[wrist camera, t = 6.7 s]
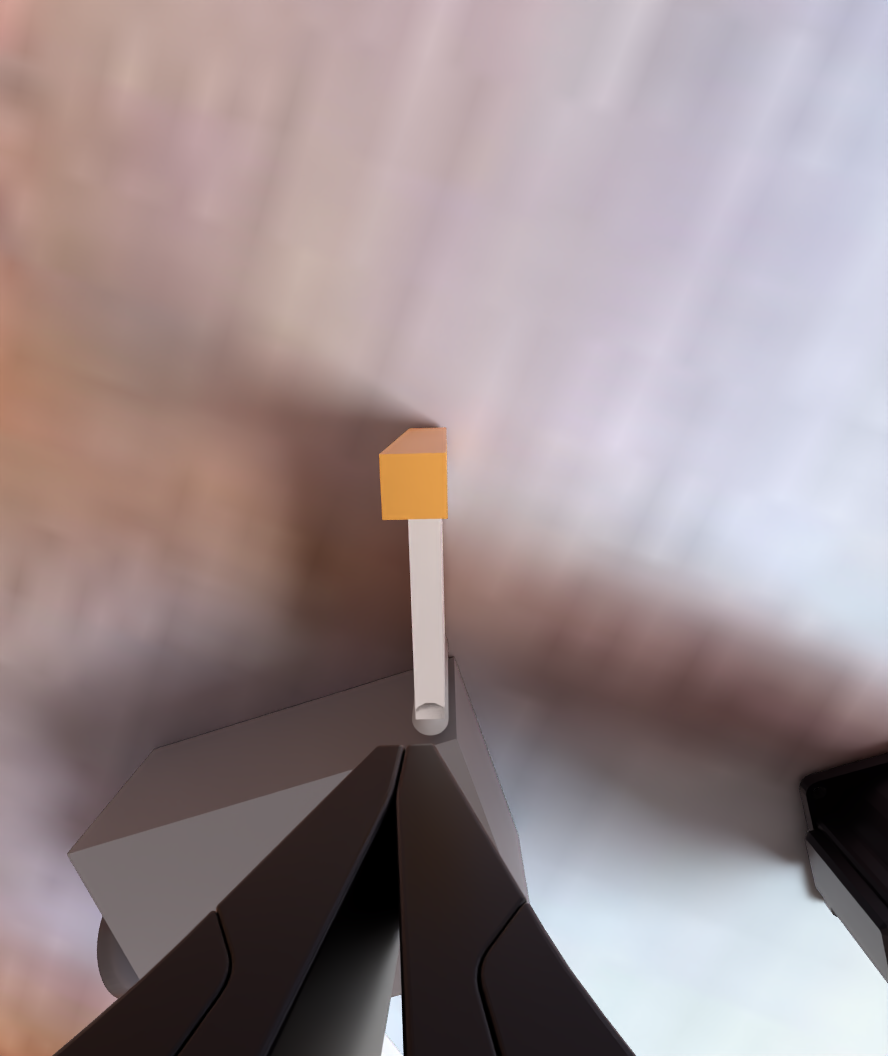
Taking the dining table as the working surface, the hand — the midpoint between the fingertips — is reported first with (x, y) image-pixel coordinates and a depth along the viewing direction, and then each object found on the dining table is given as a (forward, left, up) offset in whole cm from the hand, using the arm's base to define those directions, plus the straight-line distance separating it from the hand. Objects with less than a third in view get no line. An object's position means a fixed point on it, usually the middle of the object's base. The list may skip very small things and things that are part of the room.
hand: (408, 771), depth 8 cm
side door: (0, 0, -11) cm, 11 cm away
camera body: (+6, +8, -12) cm, 15 cm away
